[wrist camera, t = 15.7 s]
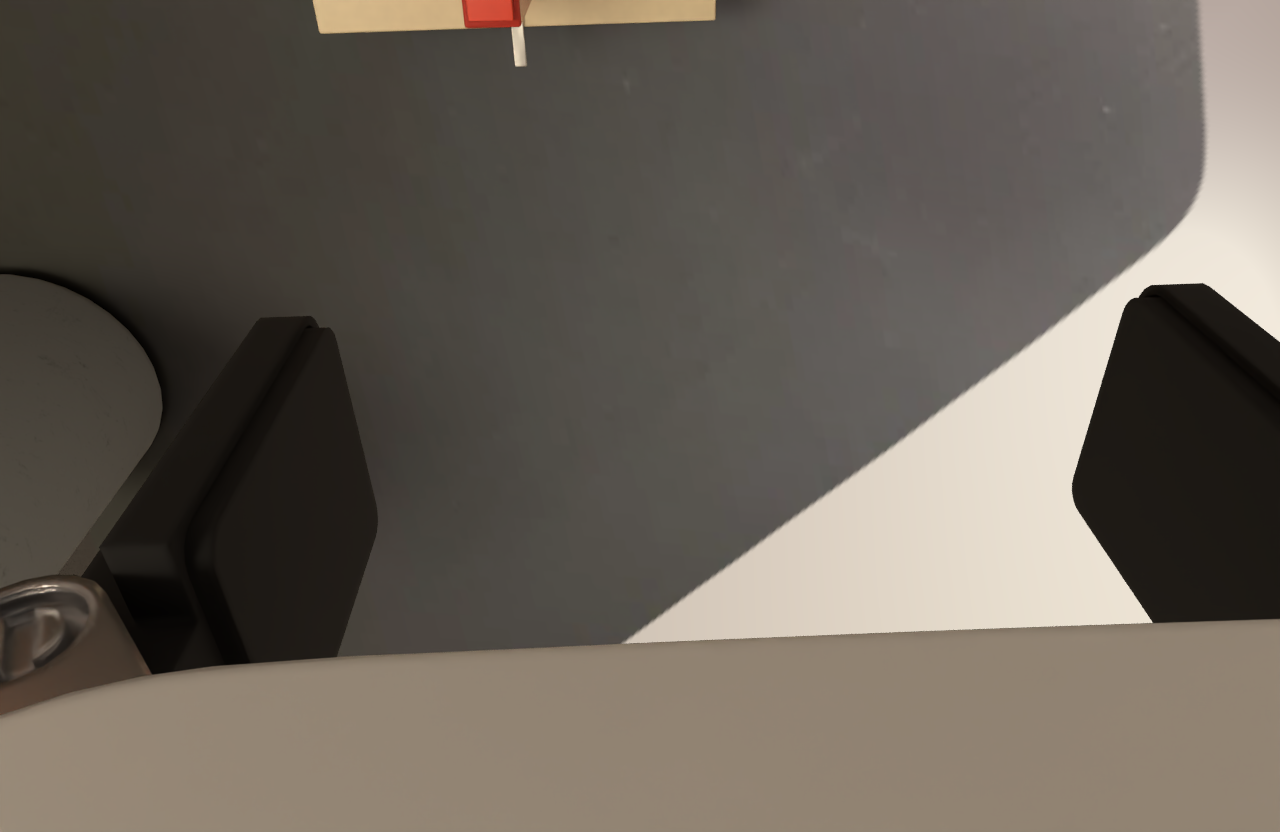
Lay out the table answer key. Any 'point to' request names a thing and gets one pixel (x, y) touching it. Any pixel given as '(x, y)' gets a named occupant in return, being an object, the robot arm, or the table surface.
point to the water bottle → (64, 421)
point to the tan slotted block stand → (437, 5)
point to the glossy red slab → (494, 13)
